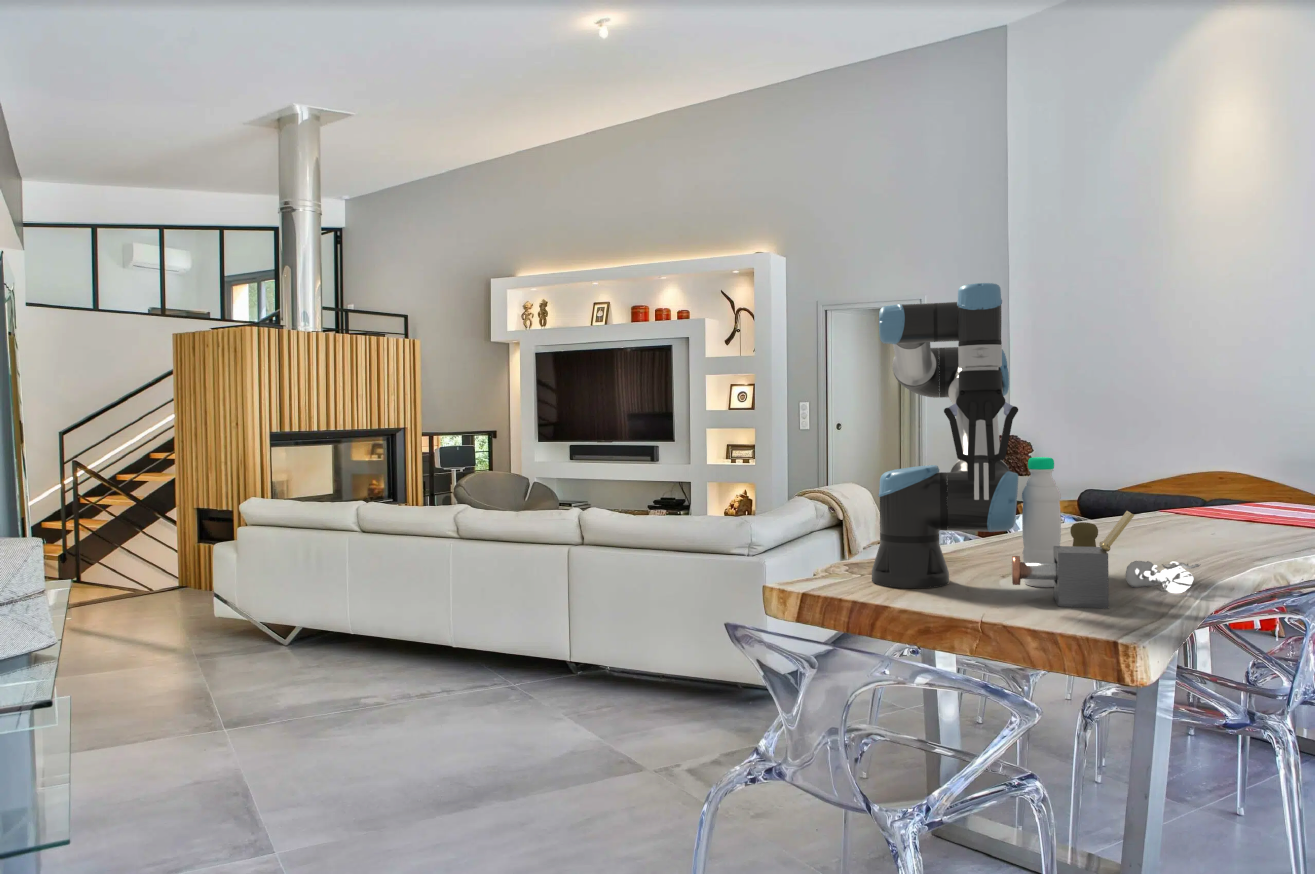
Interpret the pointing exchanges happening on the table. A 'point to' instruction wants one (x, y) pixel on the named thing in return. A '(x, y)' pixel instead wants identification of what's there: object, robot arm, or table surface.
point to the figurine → (1160, 576)
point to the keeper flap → (1116, 531)
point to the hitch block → (1081, 577)
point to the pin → (1032, 570)
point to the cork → (1084, 534)
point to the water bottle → (1040, 516)
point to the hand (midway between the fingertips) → (981, 498)
